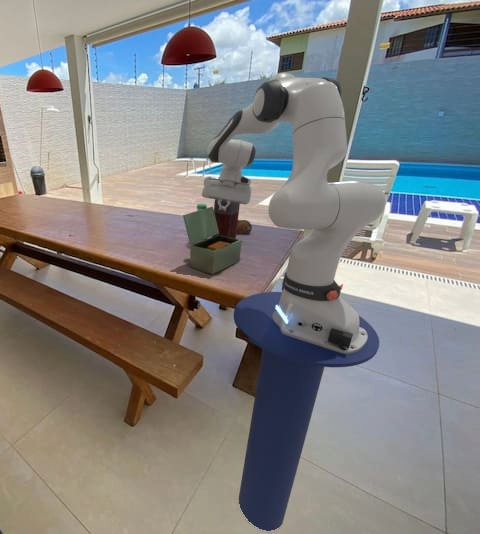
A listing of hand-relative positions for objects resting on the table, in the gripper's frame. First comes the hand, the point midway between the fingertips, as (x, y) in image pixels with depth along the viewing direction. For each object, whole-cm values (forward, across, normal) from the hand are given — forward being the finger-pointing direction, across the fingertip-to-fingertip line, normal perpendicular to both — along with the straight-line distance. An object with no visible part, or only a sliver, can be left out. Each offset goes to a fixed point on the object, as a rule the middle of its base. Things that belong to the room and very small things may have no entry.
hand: (222, 210), depth 133 cm
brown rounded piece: (+3, +12, +39) cm, 41 cm away
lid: (+8, -7, -3) cm, 11 cm away
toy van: (+22, +3, 0) cm, 23 cm away
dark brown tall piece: (+11, +6, +24) cm, 27 cm away
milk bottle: (+13, -6, +25) cm, 29 cm away
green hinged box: (+23, +2, 0) cm, 24 cm away
